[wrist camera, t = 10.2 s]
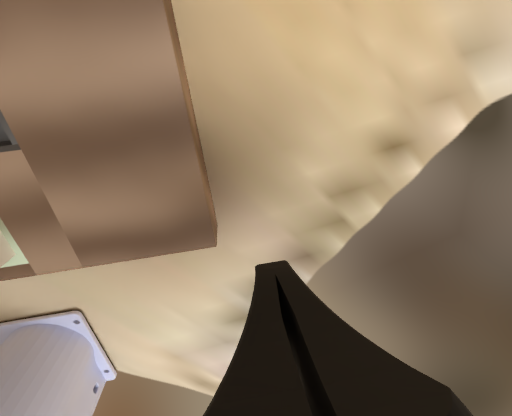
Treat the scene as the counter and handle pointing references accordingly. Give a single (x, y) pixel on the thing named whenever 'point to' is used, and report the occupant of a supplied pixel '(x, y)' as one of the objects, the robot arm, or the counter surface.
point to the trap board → (97, 137)
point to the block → (5, 250)
